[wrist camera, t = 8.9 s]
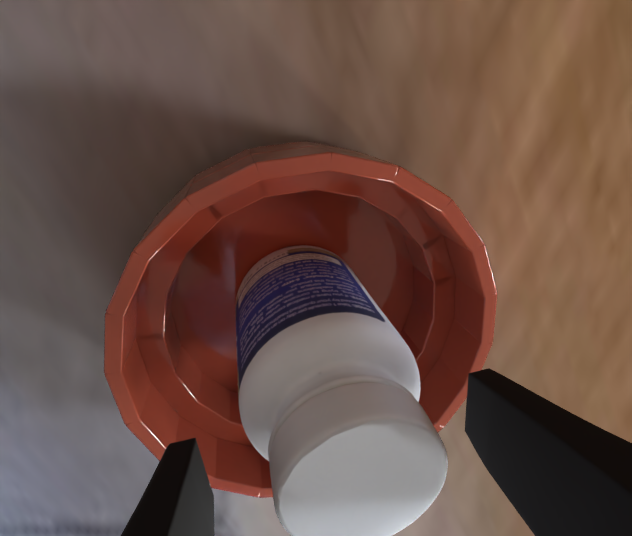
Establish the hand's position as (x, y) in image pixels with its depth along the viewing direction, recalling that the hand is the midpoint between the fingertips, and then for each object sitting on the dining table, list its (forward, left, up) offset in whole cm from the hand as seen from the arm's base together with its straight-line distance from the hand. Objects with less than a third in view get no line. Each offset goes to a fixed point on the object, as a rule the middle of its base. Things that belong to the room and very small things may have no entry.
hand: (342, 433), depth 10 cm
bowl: (0, 0, -8) cm, 8 cm away
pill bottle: (0, 0, -7) cm, 7 cm away
